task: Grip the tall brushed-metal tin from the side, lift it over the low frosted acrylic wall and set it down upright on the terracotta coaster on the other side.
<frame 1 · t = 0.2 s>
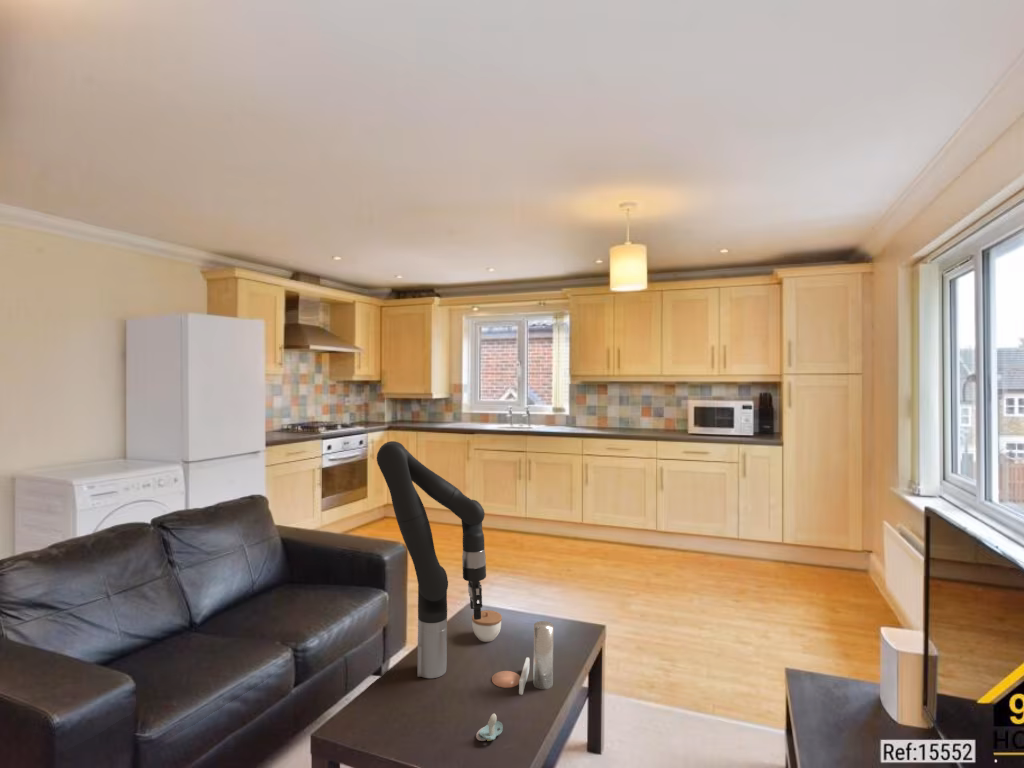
hand: (475, 613, 175), 18 cm above the table, tool pointing down, fingers open, 8 cm apart
metal tin: (542, 683, 167), on the table
lidded jar: (486, 638, 196), on the table
pacifier: (488, 736, 142), on the table
terracotta coaster: (506, 679, 169), on the table
acrylic wall: (524, 681, 168), on the table
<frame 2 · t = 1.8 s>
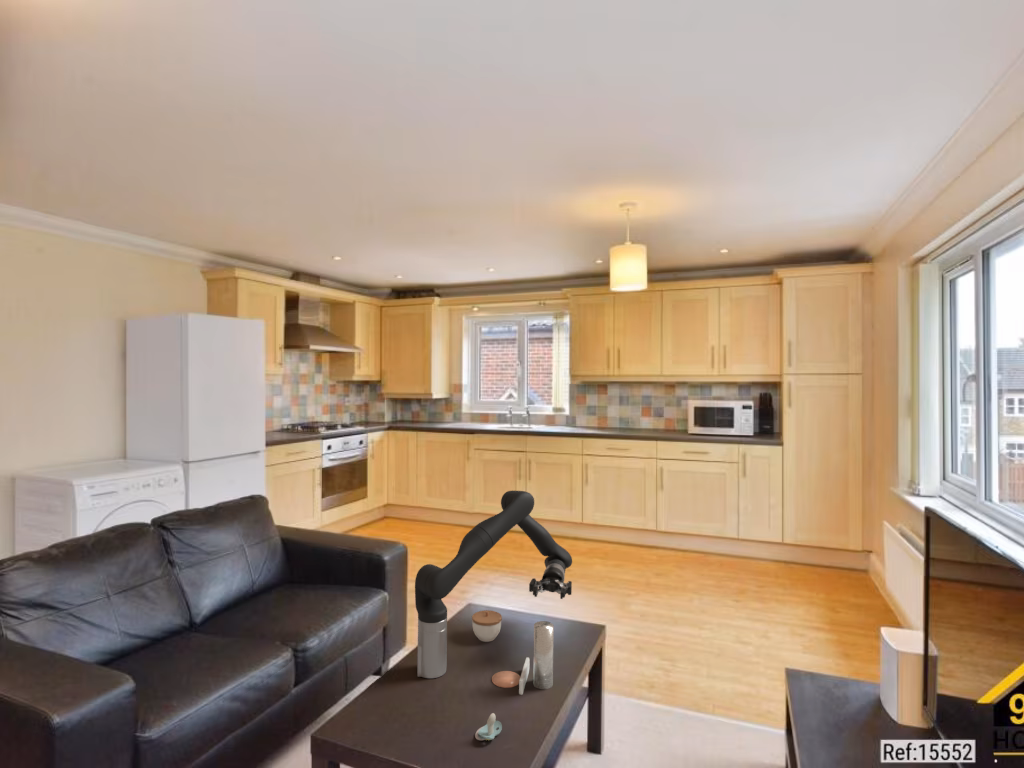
hand: (548, 595, 178), 23 cm above the table, tool horizontal, fingers open, 8 cm apart
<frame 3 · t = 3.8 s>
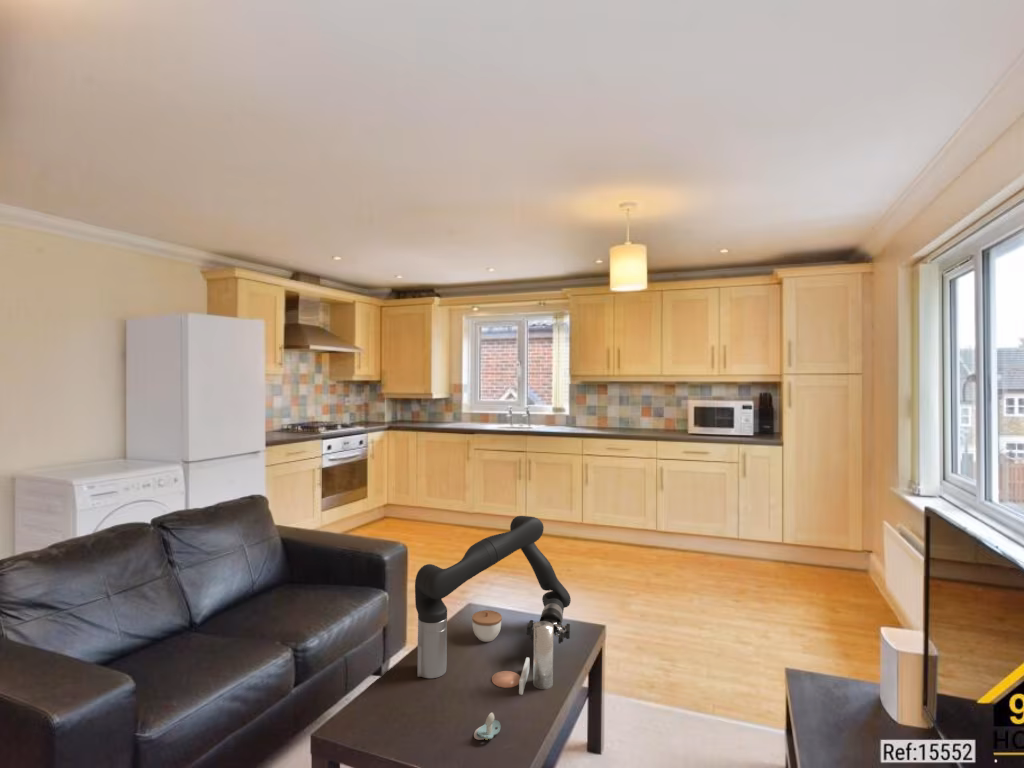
hand: (546, 639, 175), 10 cm above the table, tool horizontal, fingers open, 8 cm apart
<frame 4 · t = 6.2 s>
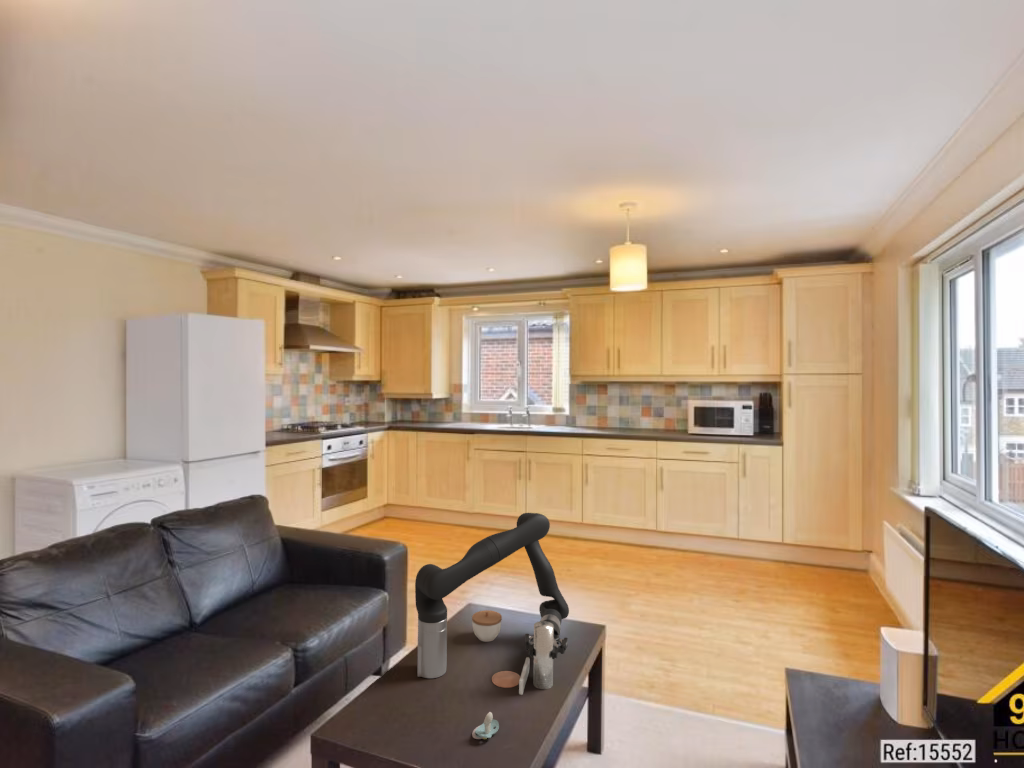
hand: (542, 655, 164), 10 cm above the table, tool horizontal, fingers closed on metal tin, 6 cm apart
metal tin: (543, 683, 167), on the table, touching gripper
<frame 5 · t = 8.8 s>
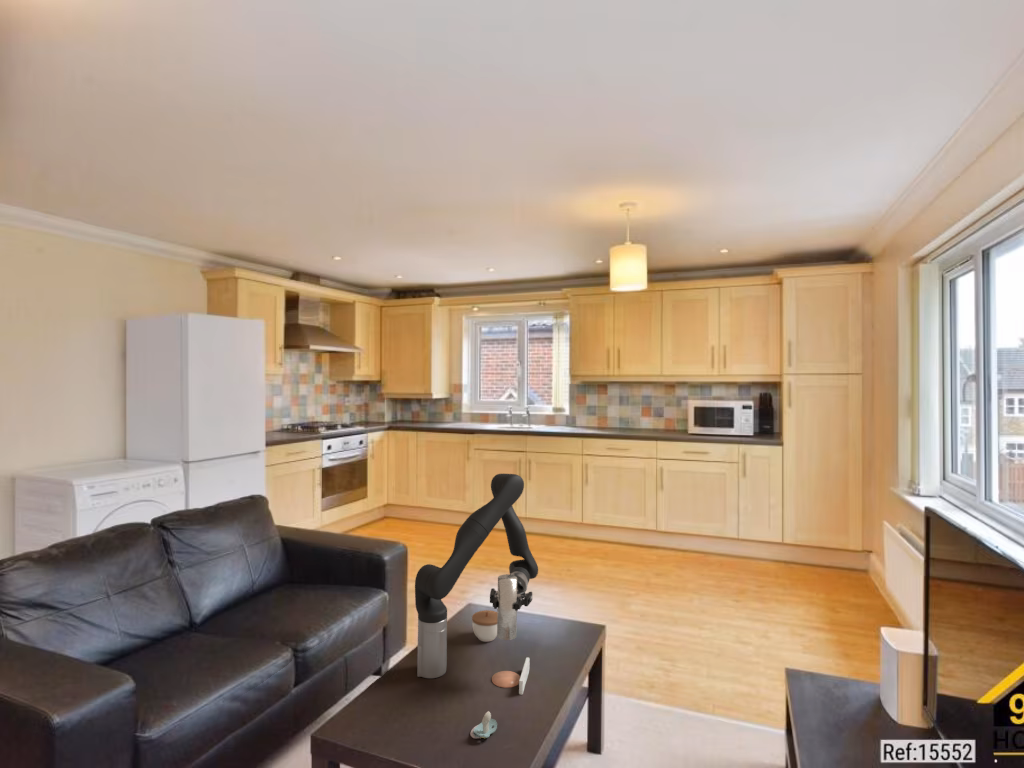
hand: (505, 606, 166), 24 cm above the table, tool horizontal, fingers closed on metal tin, 6 cm apart
metal tin: (506, 635, 169), point 14 cm above the table, touching gripper
when the fingers open (12 cm above the table, at t = 11.6 s): metal tin drops 1 cm, resting on terracotta coaster.
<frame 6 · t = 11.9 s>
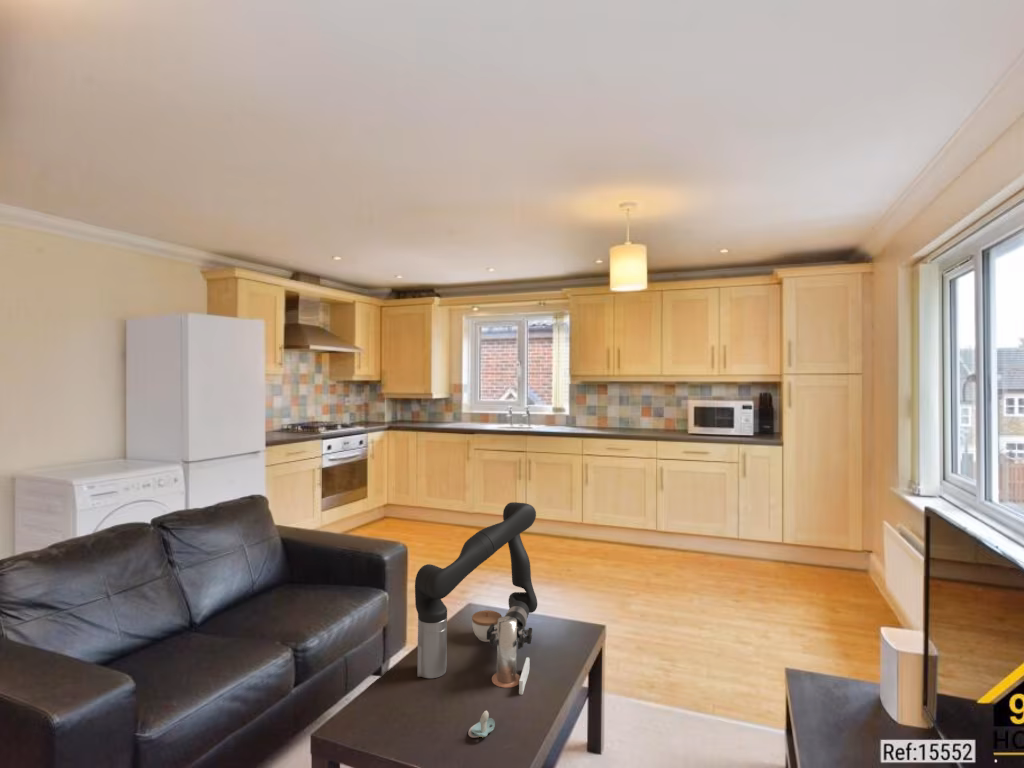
hand: (505, 644, 167), 12 cm above the table, tool horizontal, fingers open, 8 cm apart
metal tin: (506, 678, 169), resting on terracotta coaster
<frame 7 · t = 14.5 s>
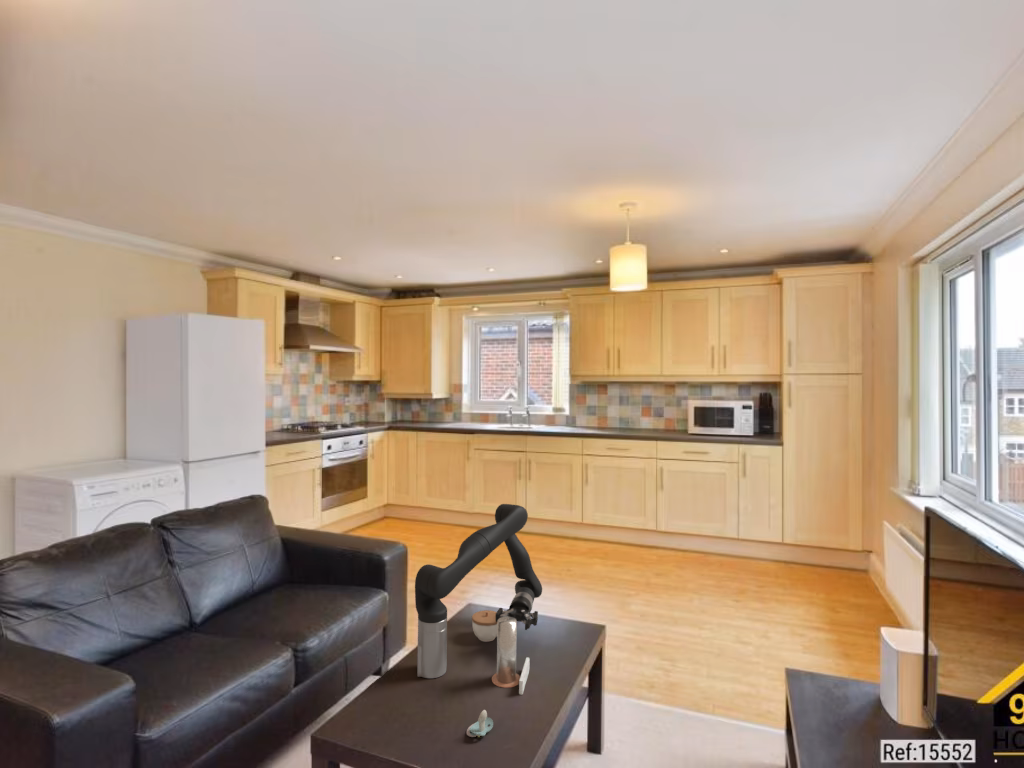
hand: (513, 626, 180), 12 cm above the table, tool horizontal, fingers open, 8 cm apart
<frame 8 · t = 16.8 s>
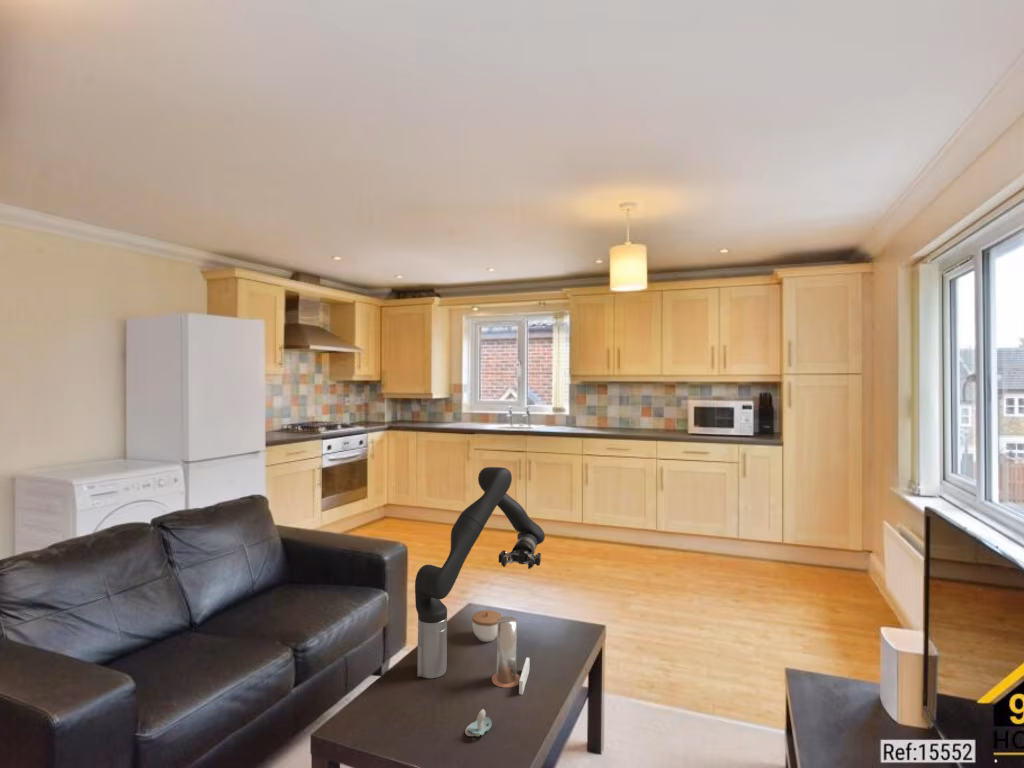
hand: (516, 564, 180), 32 cm above the table, tool horizontal, fingers open, 8 cm apart
at the end: metal tin 0.2 cm off-centre on the terracotta coaster, point 0.3 cm above the terracotta coaster's base; metal tin tilted 0°; the gripper is holding nothing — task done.
